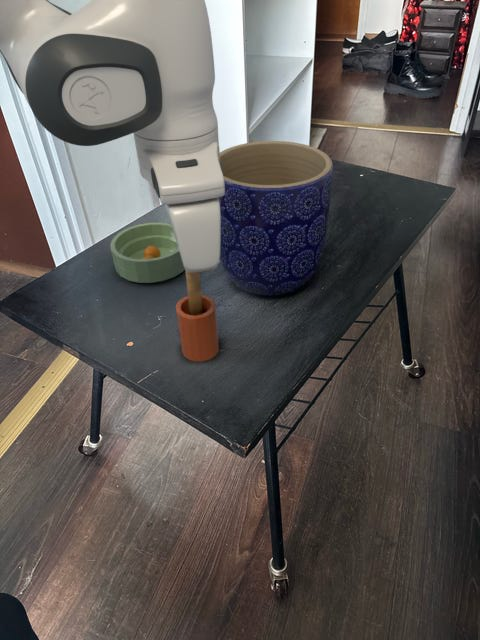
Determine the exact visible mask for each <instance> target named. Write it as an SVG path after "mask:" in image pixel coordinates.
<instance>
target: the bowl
mask: <svg viewBox="0 0 480 640" xmlns="http://www.w3.org/2000/svg"><path fill="white" fill-rule="evenodd" d="M109 245H110V252H111V257H112V261H113V266H114V270H115V271H116V273H117V274H118V275H119V276H120V277H121V278H123V279H125V280H126V281H129V282H133V283H140V284H152V283H158V282H164V281H167V280H170V279H173V278H175V277H176V276H178V275H180V274H181V273H183V272H184V271H185V268H184V266H183V262H182V259H181V256H180V252H179V249H178V245H177V242H176V239H175V236H174V233H173V229H172V226H171V223H169V222H168V223H167V222H145V223H140V224H136V225H132V226H129V227H127V228H125V229H122V230H121V231H119V232H118V233H117V234H116V235H115V236H114V237H112V240H111V241H110V244H109ZM148 246H155V247H157V248H158V249H159V250H160V257H157V258H151V259H142V258H143V257H144V250H145V249H146V248H147V247H148Z"/></svg>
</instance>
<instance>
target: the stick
mask: <svg viewBox="0 0 480 640" xmlns="http://www.w3.org/2000/svg"><path fill="white" fill-rule="evenodd" d="M184 271H185V272H184V273H185V281H186V292H187V296H188V303H189V313H190V315H201V314H203V311H202V297H201V294H202V286H201V274H200V273H201V271H200V272H193V273H188V272H187V271H186V270H184Z"/></svg>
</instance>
